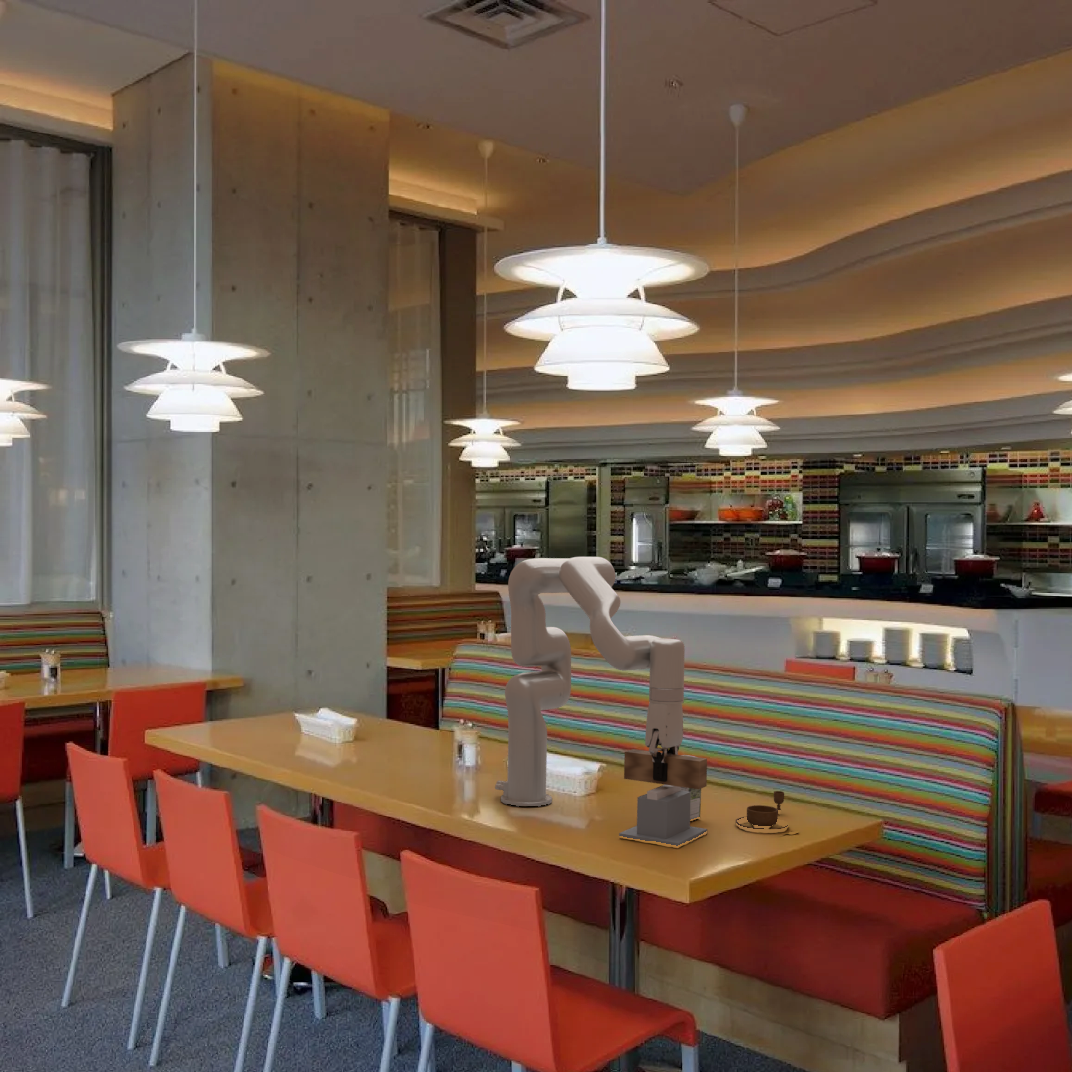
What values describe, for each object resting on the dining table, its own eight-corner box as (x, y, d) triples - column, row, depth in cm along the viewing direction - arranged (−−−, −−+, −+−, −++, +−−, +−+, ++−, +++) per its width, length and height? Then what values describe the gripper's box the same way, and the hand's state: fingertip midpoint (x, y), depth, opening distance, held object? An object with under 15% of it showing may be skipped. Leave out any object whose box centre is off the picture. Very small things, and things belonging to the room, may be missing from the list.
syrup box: (679, 815, 279) (681, 753, 279) (701, 819, 275) (702, 757, 275) (666, 819, 274) (667, 757, 274) (688, 824, 271) (689, 760, 270)
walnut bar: (624, 778, 262) (624, 751, 262) (632, 775, 265) (632, 749, 265) (698, 789, 252) (699, 761, 252) (706, 786, 255) (707, 758, 255)
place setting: (715, 824, 273) (715, 799, 273) (776, 814, 284) (777, 789, 284) (770, 841, 258) (771, 814, 258) (833, 830, 270) (833, 804, 270)
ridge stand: (619, 838, 256) (620, 788, 256) (650, 825, 269) (651, 777, 269) (677, 849, 249) (678, 797, 249) (707, 834, 261) (708, 785, 261)
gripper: (667, 690, 268) (666, 771, 268) (633, 697, 253) (631, 783, 253) (698, 693, 264) (696, 775, 264) (665, 701, 249) (663, 787, 249)
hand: (664, 778), depth 259 cm, fingers closed on walnut bar, 4 cm apart
